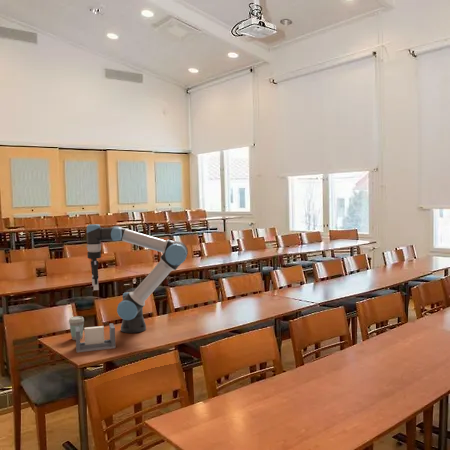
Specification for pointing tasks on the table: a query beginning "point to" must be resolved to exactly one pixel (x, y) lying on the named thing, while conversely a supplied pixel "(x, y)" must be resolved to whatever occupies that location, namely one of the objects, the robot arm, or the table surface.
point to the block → (94, 335)
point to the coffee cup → (76, 322)
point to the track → (106, 345)
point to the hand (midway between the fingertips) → (95, 287)
